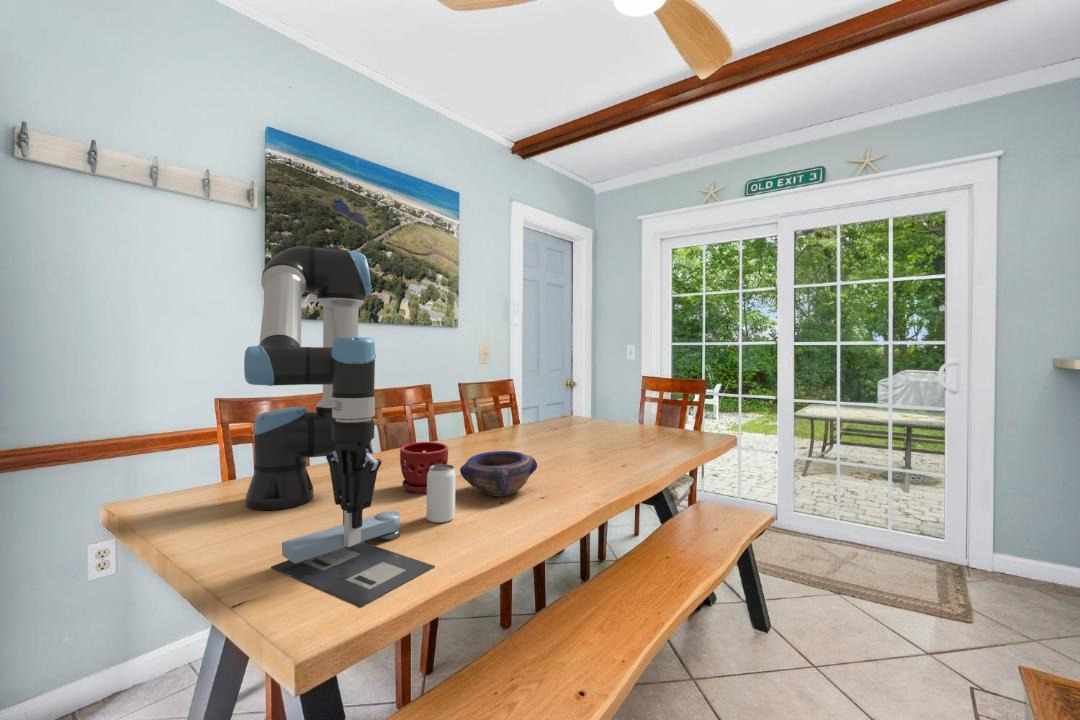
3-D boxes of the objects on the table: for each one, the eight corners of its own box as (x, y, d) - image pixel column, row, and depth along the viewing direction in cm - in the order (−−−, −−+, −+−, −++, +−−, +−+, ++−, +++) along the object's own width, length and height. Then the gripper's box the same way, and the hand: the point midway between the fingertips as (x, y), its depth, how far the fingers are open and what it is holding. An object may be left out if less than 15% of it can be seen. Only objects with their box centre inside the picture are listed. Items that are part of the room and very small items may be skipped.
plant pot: (389, 489, 133) (390, 446, 133) (428, 479, 144) (429, 439, 143) (418, 499, 125) (419, 453, 125) (457, 488, 135) (458, 446, 135)
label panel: (271, 567, 85) (271, 566, 85) (348, 537, 99) (348, 536, 99) (361, 607, 73) (361, 605, 73) (434, 567, 87) (434, 565, 87)
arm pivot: (369, 537, 99) (369, 531, 99) (388, 530, 104) (388, 524, 104) (386, 543, 97) (386, 537, 97) (404, 535, 101) (404, 529, 101)
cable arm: (282, 556, 86) (282, 541, 86) (390, 522, 104) (391, 509, 104) (294, 564, 83) (294, 548, 83) (404, 528, 101) (404, 515, 100)
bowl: (451, 493, 130) (451, 457, 130) (494, 479, 145) (494, 446, 145) (502, 507, 120) (503, 467, 120) (543, 490, 135) (543, 455, 134)
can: (448, 524, 107) (449, 471, 107) (421, 522, 109) (422, 469, 108) (459, 515, 114) (459, 464, 113) (433, 512, 115) (434, 463, 115)
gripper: (313, 418, 90) (313, 543, 91) (359, 424, 84) (358, 559, 84) (347, 414, 97) (347, 530, 97) (393, 419, 90) (391, 544, 90)
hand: (352, 543), depth 90 cm, fingers closed
